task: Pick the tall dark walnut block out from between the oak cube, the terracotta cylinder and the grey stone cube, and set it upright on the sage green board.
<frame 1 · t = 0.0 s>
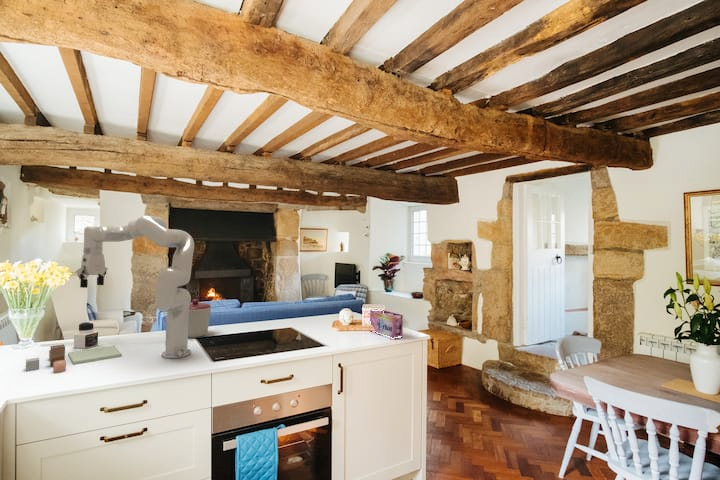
hand: (92, 286, 181), 31 cm above the counter, tool pointing down, fingers open, 9 cm apart
terracotta cylinder: (59, 371, 151), on the counter
canister: (194, 336, 211), on the counter
sage board: (94, 355, 172), on the counter
oak cube: (55, 359, 166), on the counter
medicine bottle: (85, 346, 186), on the counter
stone cube: (32, 369, 153), on the counter
gum box: (385, 335, 222), on the counter
walnut block: (57, 364, 159), on the counter
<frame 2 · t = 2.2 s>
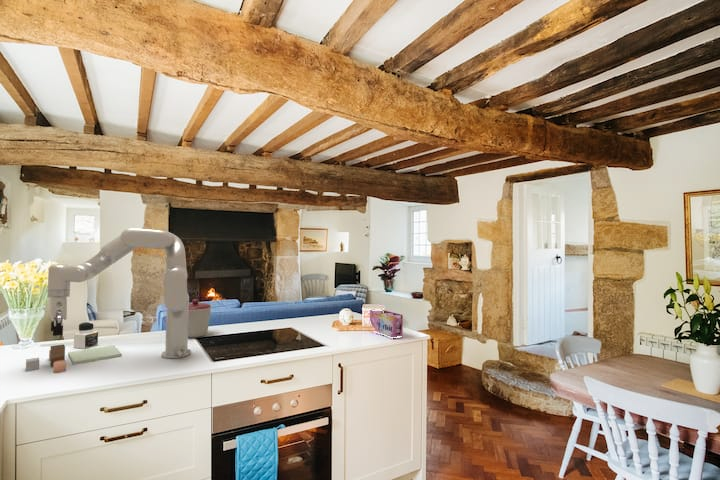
hand: (56, 332, 158), 14 cm above the counter, tool pointing down, fingers open, 9 cm apart
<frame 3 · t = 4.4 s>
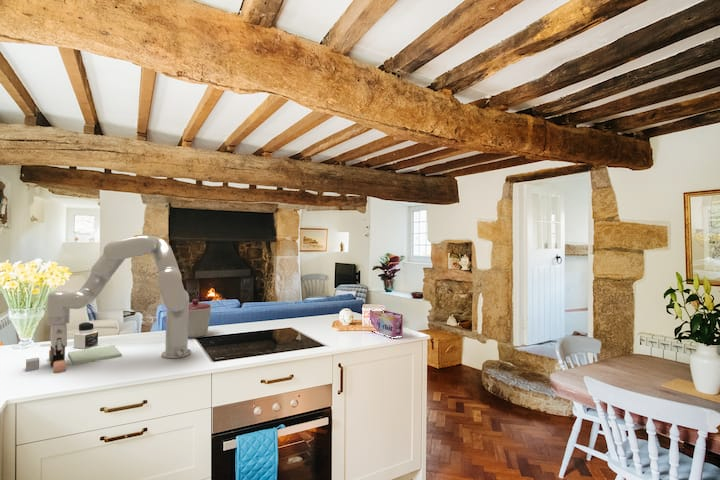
hand: (57, 362, 159), 1 cm above the counter, tool pointing down, fingers closed on walnut block, 4 cm apart
walnut block: (57, 364, 159), on the counter, touching gripper
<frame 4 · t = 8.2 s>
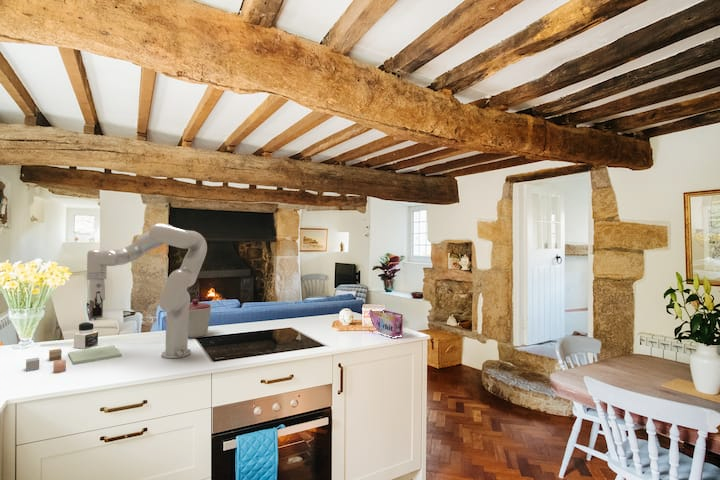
hand: (95, 314, 172), 19 cm above the counter, tool pointing down, fingers closed on walnut block, 4 cm apart
walnut block: (95, 317, 172), point 18 cm above the counter, touching gripper
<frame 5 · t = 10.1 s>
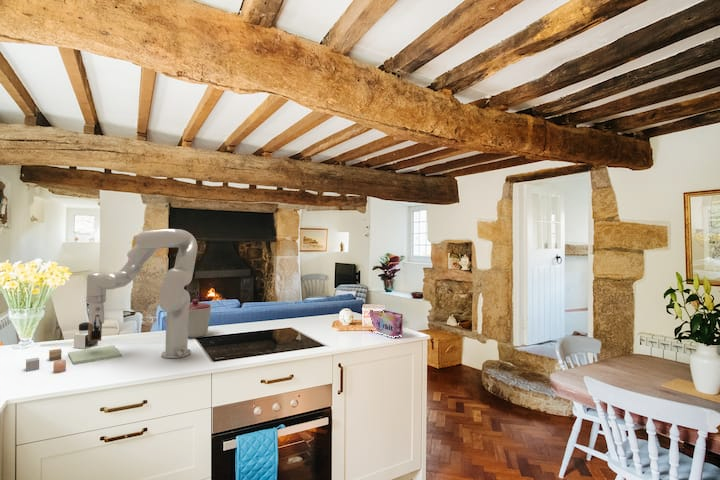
hand: (94, 337, 172), 8 cm above the counter, tool pointing down, fingers closed on walnut block, 4 cm apart
walnut block: (94, 340, 172), point 7 cm above the counter, touching gripper
when the fingers open (3 cm above the counter, at t = 11.9 s): walnut block stays where it is, resting on sage board.
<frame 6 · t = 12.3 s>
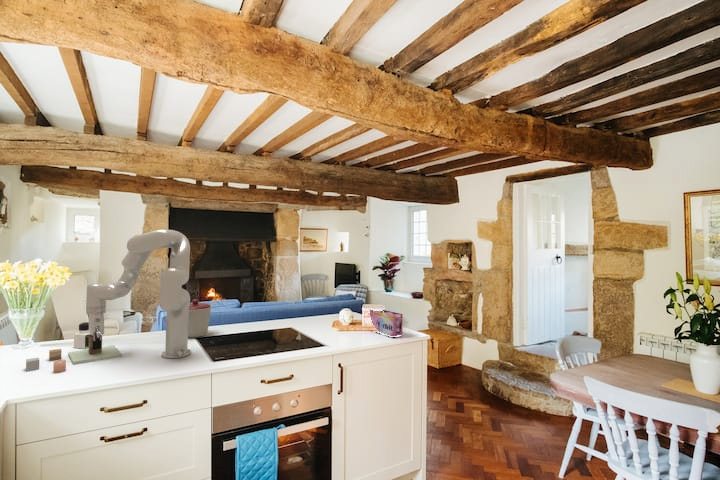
hand: (95, 346, 172), 4 cm above the counter, tool pointing down, fingers open, 8 cm apart
walnut block: (95, 352, 172), point 1 cm above the counter, touching sage board
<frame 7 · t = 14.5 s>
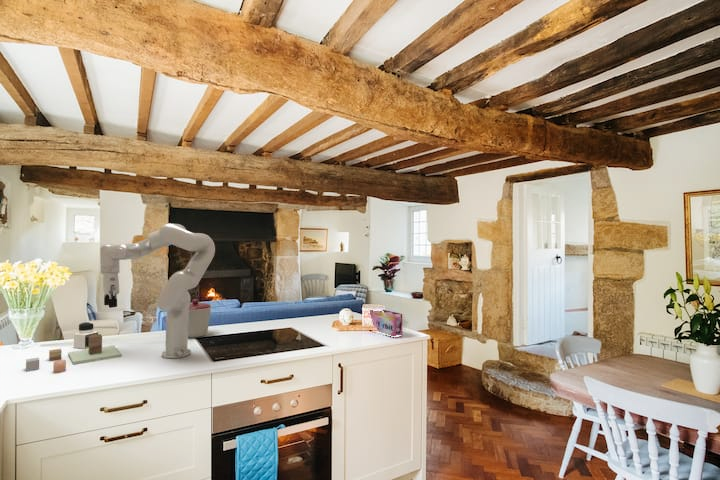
hand: (110, 306, 175), 23 cm above the counter, tool pointing down, fingers open, 9 cm apart
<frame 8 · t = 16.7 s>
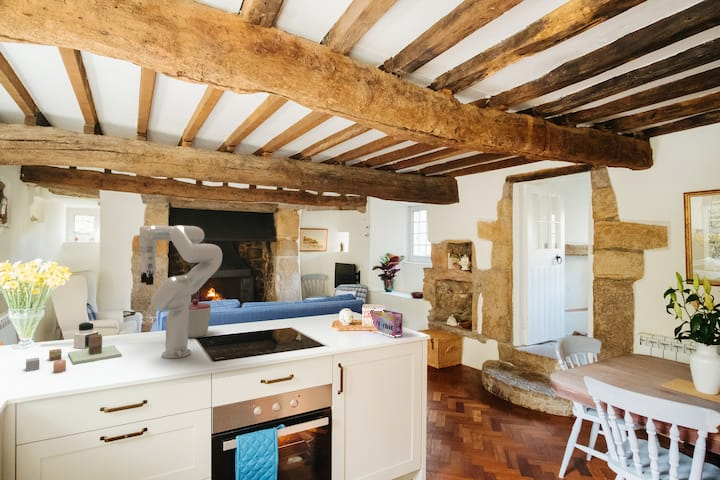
hand: (146, 283, 186), 32 cm above the counter, tool pointing down, fingers open, 9 cm apart
at the end: walnut block inside the target area on the sage board (0.1 cm from its centre), point 1.2 cm above the sage board's base; walnut block tilted 0°; the gripper is holding nothing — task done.
